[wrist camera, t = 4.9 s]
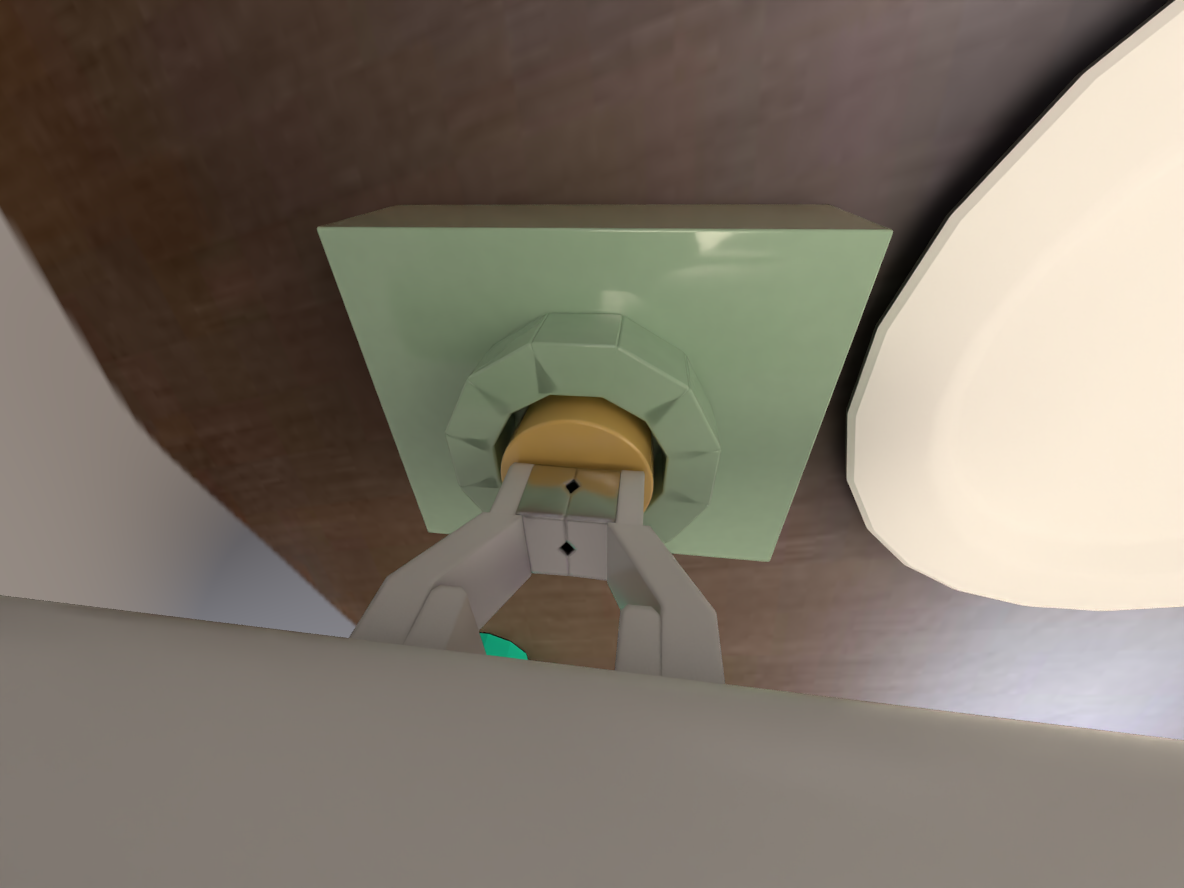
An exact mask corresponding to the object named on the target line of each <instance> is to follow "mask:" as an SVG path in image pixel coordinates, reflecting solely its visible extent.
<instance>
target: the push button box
mask: <svg viewBox="0 0 1184 888" xmlns="http://www.w3.org/2000/svg"><path fill="white" fill-rule="evenodd" d="M317 232H318V234H319V237H320V240H321V243H322V245H323V248H324V251H325V253H326V256H327V259H328V262H329V264H330V267H331V270H332V272H333V275H334V278H335V281H336V283H337V286H338V289H339V291H340V294H341V297H342V300H343V302H344V305H345V308H346V310H347V313H348V316H349V319H350V321H351V324H352V327H353V329H354V332H355V335H356V338H357V340H358V343H359V346H360V348H361V351H362V354H363V357H364V359H365V362H366V365H367V367H368V370H369V373H370V376H371V378H372V381H373V384H374V386H375V389H376V392H377V395H378V397H379V400H380V403H381V405H382V408H383V411H384V414H385V416H386V419H387V422H388V424H389V427H390V430H391V433H392V435H393V438H394V441H395V443H396V446H397V449H398V452H399V454H400V457H401V460H402V462H403V465H404V468H405V471H406V473H407V476H408V479H409V481H410V484H411V487H412V490H413V492H414V495H415V498H416V500H417V503H418V506H419V509H420V511H421V514H422V517H423V519H424V522H425V525H426V528H427V530H428V532H430V533H441V534H451V533H452V532H454V531H455V530H457V529H458V528H460V527H461V526H463V525H464V524H466V523H467V522H469V521H470V520H472V519H473V518H475V517H476V516H478V515H479V514H481V513H482V512H490V510H491V507H492V505H493V503H494V501H495V498H496V496H497V494H498V492H499V490H500V487H501V485H502V479H501V461H502V457H503V454H504V452H505V450H506V448H507V446H508V443H509V441H510V439H511V437H512V435H513V433H514V431H515V429H516V427H517V424H518V422H519V420H520V418H521V416H522V414H523V412H524V410H525V408H526V406H528V405H530V404H532V403H534V402H536V401H538V400H541V399H543V398H545V397H547V396H549V395H562V396H583V397H602V398H604V399H606V400H608V401H610V402H611V403H613V404H615V405H617V406H619V407H620V408H622V409H624V410H626V411H628V412H630V413H631V414H633V415H635V416H637V417H639V418H640V419H642V420H644V421H645V422H646V423H647V425H648V427H649V428H650V430H651V432H652V433H653V435H654V489H653V495H652V498H651V501H650V503H649V505H648V507H647V509H646V510H645V512H644V513H643V525H645V526H650V527H651V528H652V530H653V531H654V532H655V533H656V535H657V536H658V537H659V539H660V540H661V541H662V542H663V544H664V545H665V546H666V548H667V549H668V550H669V552H670V553H672V554H683V555H695V556H707V557H718V558H730V559H741V560H753V561H764V562H769V561H770V559H771V556H772V554H773V551H774V548H775V546H776V543H777V540H778V538H779V535H780V532H781V530H782V527H783V524H784V522H785V519H786V516H787V514H788V511H789V508H790V506H791V503H792V500H793V498H794V495H795V492H796V490H797V487H798V484H799V482H800V479H801V476H802V474H803V471H804V468H805V466H806V463H807V460H808V458H809V455H810V452H811V450H812V447H813V444H814V442H815V439H816V436H817V434H818V431H819V428H820V426H821V423H822V420H823V418H824V415H825V412H826V410H827V407H828V404H829V402H830V399H831V397H832V394H833V391H834V389H835V386H836V383H837V381H838V378H839V375H840V373H841V370H842V367H843V365H844V362H845V359H846V357H847V354H848V351H849V349H850V346H851V343H852V341H853V338H854V335H855V333H856V330H857V327H858V325H859V322H860V319H861V317H862V314H863V311H864V309H865V306H866V303H867V301H868V298H869V295H870V293H871V290H872V287H873V285H874V282H875V279H876V277H877V274H878V271H879V269H880V266H881V263H882V261H883V258H884V255H885V253H886V250H887V247H888V245H889V242H890V239H891V237H892V234H893V230H891V229H889V228H886V227H884V226H881V225H879V224H876V223H874V222H871V221H869V220H866V219H864V218H861V217H859V216H856V215H854V214H851V213H849V212H847V211H844V210H842V209H839V208H837V207H834V206H832V205H829V204H683V205H396V206H392V207H388V208H385V209H381V210H378V211H374V212H370V213H367V214H363V215H359V216H356V217H352V218H348V219H345V220H341V221H337V222H334V223H330V224H327V225H323V226H319V227H317Z"/></svg>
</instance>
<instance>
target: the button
mask: <svg viewBox="0 0 1184 888" xmlns="http://www.w3.org/2000/svg"><path fill="white" fill-rule="evenodd" d="M514 462H516V463H527V464H542V465H553V466H564V467H575V468H588V469H603V470H619V471H621V472H622V470H629V471H644V474H645V481H644V508H643V513H644V512H645V510H646V509H647V507H648V505H649V503H650V501H651V498H652V495H653V489H654V435H653V433H652V432H651V430H650V428H649V427H648V425H647V423H646V422H645V421H644V420H642V419H640V418H639V417H637V416H635V415H633V414H631V413H630V412H628V411H626V410H624V409H622V408H620V407H619V406H617V405H615V404H613V403H611V402H610V401H608V400H606V399H604V398H602V397H583V396H562V395H549V396H547V397H545V398H543V399H541V400H538V401H536V402H534V403H532V404H530V405H528V406H526V408H525V410H524V412H523V414H522V416H521V418H520V420H519V422H518V424H517V427H516V429H515V431H514V433H513V435H512V437H511V439H510V441H509V443H508V446H507V448H506V450H505V452H504V454H503V457H502V461H501V479H502V483H503V481H504V478H505V476H506V474H507V472H508V470H509V467H510V466H511V465H512V464H513V463H514Z"/></svg>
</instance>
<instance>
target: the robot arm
mask: <svg viewBox="0 0 1184 888" xmlns="http://www.w3.org/2000/svg"><path fill="white" fill-rule="evenodd" d="M644 481H645V474H644V471H629V470H622V472H621V471H619V470H603V469H588V468H575V467H564V466H553V465H542V464H527V463H516V462H514V463H513V464H512V465H511V466H510V467H509V470H508V472H507V474H506V476H505V478H504V481H503V483H502V485H501V487H500V490H499V492H498V494H497V496H496V498H495V501H494V503H493V505H492V507H491V510H490V512H482V513H481V514H479V515H478V516H476V517H475V518H473V519H472V520H470V521H469V522H467V523H466V524H464V525H463V526H461V527H460V528H458V529H457V530H455V531H454V532H452V533H451V534H449V535H448V536H446V537H445V538H444V539H442V540H441V541H439V542H438V543H436V544H435V545H433V546H432V547H430V548H429V549H427V550H426V551H424V552H423V553H421V554H420V555H418V556H417V557H415V558H414V559H412V560H411V561H409V562H408V563H407V564H405V565H404V566H402V567H401V568H399V569H398V570H396V571H395V572H393V573H392V574H390V575H389V576H387V577H386V579H385V580H384V582H383V584H382V585H381V587H380V588H379V590H378V592H377V593H376V595H375V597H374V598H373V600H372V601H371V603H370V605H369V606H368V608H367V610H366V611H365V613H364V614H363V616H362V618H361V619H360V621H359V622H358V624H357V626H356V627H355V629H354V631H353V632H352V634H351V636H350V637H349V638H343V637H335V636H327V635H319V634H311V633H302V632H294V631H287V630H278V629H270V628H262V627H253V626H246V625H238V624H229V623H221V622H213V621H205V620H197V619H189V618H180V617H173V616H164V615H156V614H148V613H140V612H132V611H124V610H116V609H108V608H100V607H92V606H83V605H75V604H67V603H59V602H51V601H43V600H35V599H27V598H19V597H11V596H2V595H0V888H1184V740H1178V739H1170V738H1162V737H1154V736H1145V735H1137V734H1129V733H1121V732H1113V731H1105V730H1096V729H1088V728H1080V727H1072V726H1064V725H1056V724H1047V723H1039V722H1031V721H1023V720H1015V719H1006V718H998V717H990V716H982V715H974V714H966V713H957V712H949V711H941V710H933V709H925V708H917V707H908V706H900V705H892V704H884V703H876V702H868V701H859V700H851V699H843V698H835V697H827V696H818V695H810V694H802V693H794V692H786V691H778V690H769V689H761V688H753V687H745V686H737V685H729V684H725V680H724V672H723V664H722V656H721V647H720V639H719V631H718V623H717V615H716V611H715V610H714V609H713V607H712V606H711V605H710V603H709V602H708V601H707V600H706V598H705V597H704V596H703V594H702V593H701V592H700V590H699V589H698V588H697V587H696V585H695V584H694V583H693V581H692V580H691V579H690V578H689V576H688V575H687V574H686V572H685V571H684V570H683V568H682V567H681V566H680V565H679V563H678V562H677V561H676V559H675V558H674V557H673V555H672V554H671V553H670V552H669V550H668V549H667V548H666V546H665V545H664V544H663V542H662V541H661V540H660V539H659V537H658V536H657V535H656V533H655V532H654V531H653V530H652V528H651V527H650V526H645V525H643V508H644ZM531 573H537V574H551V575H565V576H574V577H582V578H590V579H598V580H606V581H607V583H608V585H609V587H610V589H611V592H612V594H613V596H614V598H615V600H616V602H617V604H618V606H619V608H620V621H619V631H618V642H617V652H616V662H615V671H614V670H606V669H598V668H590V667H581V666H573V665H565V664H557V663H549V662H541V661H532V660H524V659H516V658H508V657H499V656H491V655H486V652H485V649H484V646H483V643H482V640H481V637H480V633H479V630H480V629H481V628H482V627H483V626H484V625H485V623H486V622H487V621H488V620H489V619H490V618H491V617H492V616H493V615H494V614H495V613H496V612H497V611H498V610H499V609H500V608H501V607H502V606H503V605H504V604H505V602H506V601H507V600H508V599H509V598H510V597H511V596H512V595H513V594H514V593H515V592H516V591H517V590H518V589H519V588H520V587H521V586H522V585H523V584H524V583H525V582H526V580H527V579H528V578H529V577H530V576H531Z"/></svg>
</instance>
